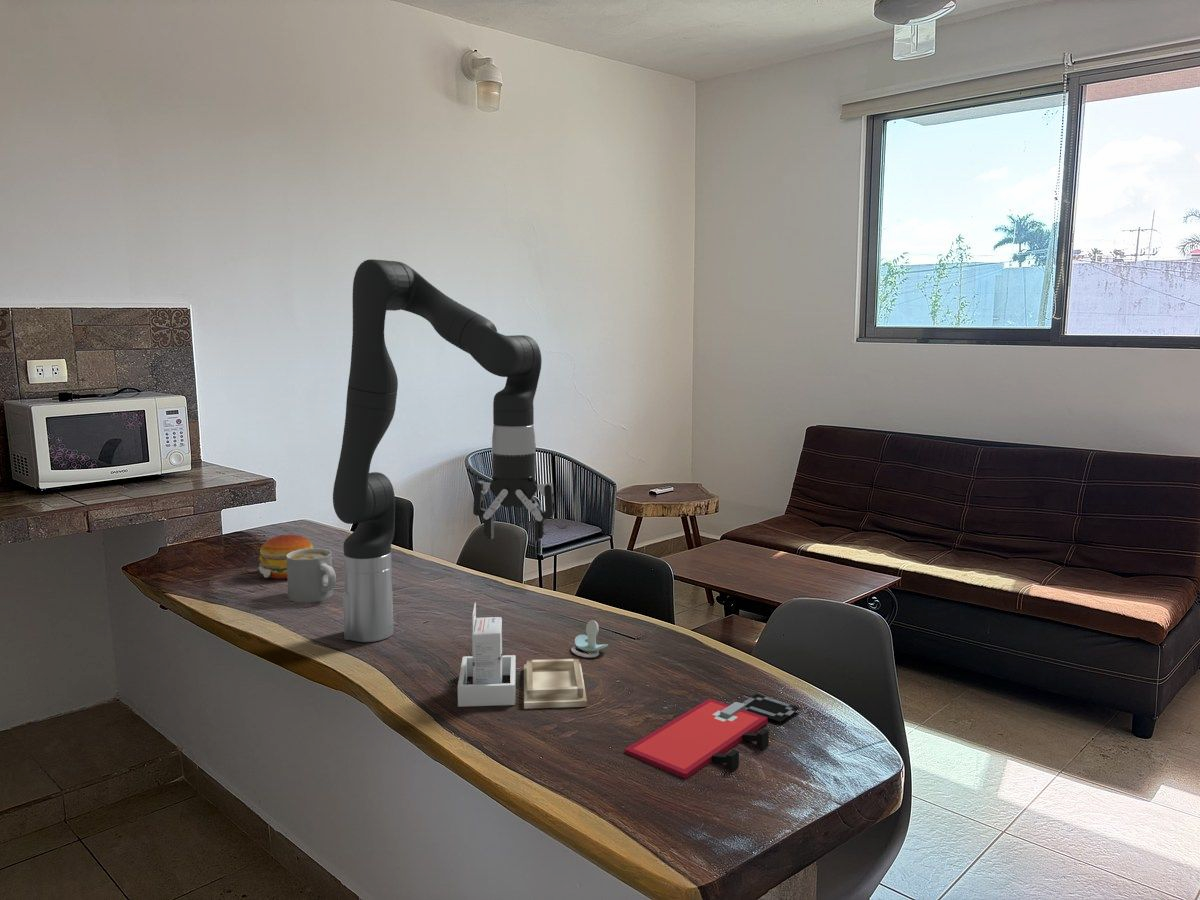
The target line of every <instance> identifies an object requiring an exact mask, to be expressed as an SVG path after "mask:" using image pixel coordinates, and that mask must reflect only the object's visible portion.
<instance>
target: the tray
mask: <svg viewBox="0 0 1200 900" xmlns="http://www.w3.org/2000/svg"><path fill="white" fill-rule="evenodd" d="M578 707H579V708H581V707H586V708H587V707H588V698H587V693H586V687H585V681H584V675H583V670H582V664H581V662H580V659H579V658H557V659H556V658H555V659H554V658H552V659H527V660H526V664H523V709H525V710H527V709H549V708H550V709H551V708H553V709H554V708H578Z"/></svg>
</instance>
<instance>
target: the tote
mask: <svg viewBox="0 0 1200 900" xmlns="http://www.w3.org/2000/svg"><path fill="white" fill-rule="evenodd" d="M516 658H517V657H516V655H515V654H510V655H509V654H507V655H506V654H505V655H503V654H502V677H503V676H510V677H509V678H510V679H509V680H510V681H509V682H510V683H509V682H506V683H504V682H502V684H473V683H472V684H470V683H469V684H467V681H468V677H473V655H472V656H471V655H470V656H469V655H468V656H462V658H461V659H462V660H461V666H460V671H459V676H458V682H457V708H459V707H487V706H489V707H490V706H514V705H516V683H517V682H516V680H517V678H516V676H517V675H516V673H517V671H516V669H517V666H516V662H517V661H516V660H517V659H516Z"/></svg>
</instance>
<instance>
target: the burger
mask: <svg viewBox="0 0 1200 900" xmlns="http://www.w3.org/2000/svg"><path fill="white" fill-rule="evenodd" d="M310 548H314V546H313V543H312V542H311V541H310V540H309V539H308V538H307V537H305V536H302V535H299V534H293V533H292V534H290V533H289V534H281V535H276V536H273V537H271V538H269V539H267V540H266V541H265V542H264V543H263V544H262V545H261V547H260V549H259V550H260V551H259V552H260V553H258V555H259V557H258V558H259V559H258V560H259V564H258V565H259V566H258V570H259V573H260V575H262V576H263V578H271V579H287V562H286V555H287V554H288V553H290V552H293V551H296V550H301V549H310Z"/></svg>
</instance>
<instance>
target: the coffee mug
mask: <svg viewBox="0 0 1200 900" xmlns="http://www.w3.org/2000/svg"><path fill="white" fill-rule="evenodd" d="M286 562H287V578H286V579H287V581H286V582H287V598H288V600H290V601H292V602H294V603H315V602H316V603H317V602H321V601H325V600H328V599H329V598H330V599H331V598H332V597H333V595H334V589H335V587H336V583H337V577H336V576H337V575H336V571H335V569H334V567H333V555H332V551H331V550H330V549H326V548H318V547H317V548H315V547H313V548H310V549H301V550H296V551H293V552H290V553H288V554H287V555H286Z"/></svg>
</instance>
